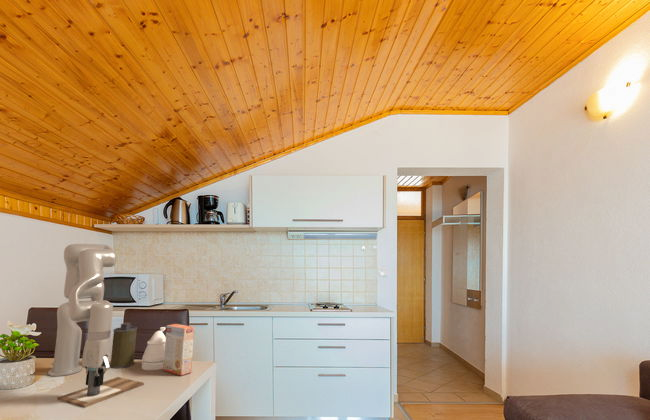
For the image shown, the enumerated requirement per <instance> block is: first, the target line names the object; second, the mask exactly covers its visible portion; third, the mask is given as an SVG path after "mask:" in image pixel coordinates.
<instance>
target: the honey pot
mask: <svg viewBox="0 0 650 420" xmlns="http://www.w3.org/2000/svg"><path fill="white" fill-rule="evenodd" d="M166 327H167V326H161V327H160V328H159V329H160V330H156V331H155V332H154V333H153V335H151V337H150V339H149V340H148V341H147V342H146V344H147V346H146V348H145V349H144V350H145V351H144V353H143V355H142V358H141V369H142V370H145V371H158V370H163V365H164V353H165V340H166V334H164V331H165V332H166Z"/></svg>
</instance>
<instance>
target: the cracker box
mask: <svg viewBox="0 0 650 420" xmlns="http://www.w3.org/2000/svg"><path fill="white" fill-rule="evenodd" d="M165 327H166V329H165V337H166V340H165V353H164V365H163V369H162V371H165V372H167V373H170V374H175V375H177V376H184V375H188V374H192V367H193V353H194V352H193V350H194V337H195V335H194V334H195V326H192V325H186V324H185V325H184V324H180V323H173V324H168V325H166V326H165Z"/></svg>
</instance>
